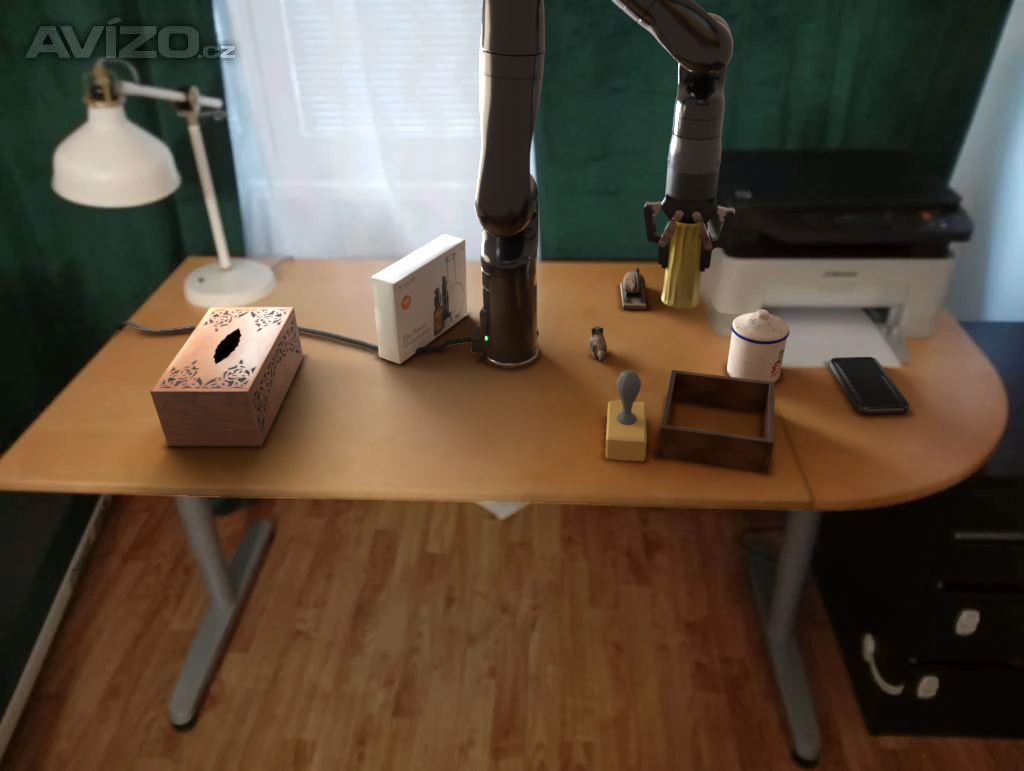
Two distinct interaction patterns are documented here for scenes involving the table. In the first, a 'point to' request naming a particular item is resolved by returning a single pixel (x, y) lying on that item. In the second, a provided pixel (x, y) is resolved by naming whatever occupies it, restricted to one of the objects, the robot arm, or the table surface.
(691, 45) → the robot arm
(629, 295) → the figurine
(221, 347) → the tissue box cover
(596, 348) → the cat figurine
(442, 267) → the skincare box
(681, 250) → the vase
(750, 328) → the teacup with lid
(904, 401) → the phone
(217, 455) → the table surface
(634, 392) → the rubber stamp
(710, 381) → the crate
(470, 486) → the table surface
